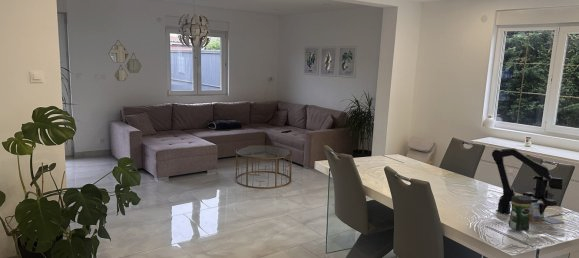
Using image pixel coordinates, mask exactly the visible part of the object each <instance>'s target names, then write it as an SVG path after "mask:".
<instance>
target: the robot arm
mask: <svg viewBox="0 0 579 258" xmlns="http://www.w3.org/2000/svg"><path fill="white" fill-rule="evenodd" d="M491 156H492V159H493V161H494V162H495V164H496V167H497V170H498V175H499V178H500V182H501V184H502V185H501V186H502V195H501V196H499V200H498V204H497V209H495V212H498V213H500V214H502V215H507V214H510V215H511V209H512V204H511V199H512V196H513V195H514V196H516V192H515V187H511V185H510V181H509V178H508V177H509V176H508V174H507V170H506V165H505V162H504V161H505V159H504V158H506V157H511V156H512V157H514V158H515V159H517V160H519V161H520V162H522V163H523V164H525V165H527V166H528V167H529V168H531V169H532V170H533V171H534V172H535V173H536V174H535V175H534V176H532V180H535V185H534V187H533V188H532V190H533V191H534V192H531V191H525V192H523V193H522V195H526V196H529V197H531V199H532V202H538V201H539V202H541V203H539V206H540V214H541V215H542V214H543V212H544V213H545V211H546V209H547V207H557V205H558V202H557V200H555V199H554V196H555V194H553V193H551V192H549V190H548V189H547V187H549V188H550V190H558V191H563V181H564V180H563V178H562V177H554V176H553V177H552V174H550V172H549V170H550V169H549V167H547V165H544V164H542V163H539V162H537V161H535V160H533V159H531V158H530V157H528V156H527V155H526V154H524V153H522V152H521V151H519V150H518V149H516V148H514V147H513V148H503V149H501V148H495V149H494V150H493V151H492V152H491ZM544 210H545V211H544Z"/></svg>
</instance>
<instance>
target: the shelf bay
mask: <svg viewBox="0 0 579 258" xmlns="http://www.w3.org/2000/svg"><path fill="white" fill-rule="evenodd" d="M532 215H533V214H532V213H529V223H530V222H539V221H541V222H542V221H543V218H533V219H532ZM543 222H544V221H543Z"/></svg>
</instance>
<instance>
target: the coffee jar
mask: <svg viewBox="0 0 579 258" xmlns="http://www.w3.org/2000/svg"><path fill="white" fill-rule="evenodd" d="M510 203H511V208H510V212H511V214H510V215H509V221H508V227H509V228H510V229H511V230H515V231H518V232H519V231H520V232H521V231H529V229H530V221H529V212H530V207H531V204H532V199H531V197H529V196H526V195H523V194H520V195H515V196H514V195H513V196H512V199H511V202H510Z"/></svg>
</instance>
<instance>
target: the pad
mask: <svg viewBox="0 0 579 258" xmlns="http://www.w3.org/2000/svg"><path fill="white" fill-rule="evenodd" d="M543 222H547V223H549V224H551V225H555V224H557V225H558V224H565V221H562V220H559V219H557V218H555V217H544V218H543Z"/></svg>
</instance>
